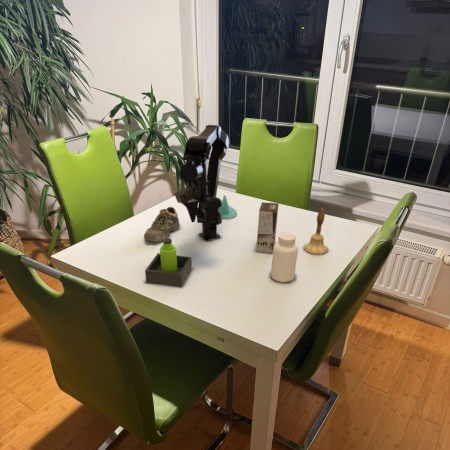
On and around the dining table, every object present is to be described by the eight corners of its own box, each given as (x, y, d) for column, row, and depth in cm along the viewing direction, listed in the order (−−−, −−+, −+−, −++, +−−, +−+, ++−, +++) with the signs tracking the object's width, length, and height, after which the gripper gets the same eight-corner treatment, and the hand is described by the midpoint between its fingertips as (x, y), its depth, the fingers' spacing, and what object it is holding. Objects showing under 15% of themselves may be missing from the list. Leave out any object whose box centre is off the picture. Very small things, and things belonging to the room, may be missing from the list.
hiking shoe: (134, 236, 157) (146, 212, 150) (161, 222, 174) (174, 199, 167) (152, 252, 157) (166, 228, 150) (178, 235, 174) (191, 214, 167)
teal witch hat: (220, 201, 196) (220, 183, 191) (242, 216, 181) (243, 197, 176) (197, 205, 191) (197, 187, 186) (217, 221, 176) (218, 201, 171)
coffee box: (272, 253, 152) (276, 212, 143) (255, 251, 153) (258, 210, 144) (275, 242, 160) (279, 202, 151) (259, 241, 161) (261, 201, 152)
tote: (158, 264, 144) (157, 253, 141) (191, 268, 142) (191, 257, 140) (146, 282, 134) (144, 270, 132) (181, 286, 132) (181, 274, 130)
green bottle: (159, 272, 139) (156, 238, 132) (173, 268, 141) (171, 235, 134) (165, 279, 135) (162, 245, 128) (179, 275, 137) (178, 241, 130)
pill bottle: (288, 285, 134) (293, 243, 126) (266, 278, 137) (270, 237, 129) (298, 274, 140) (303, 234, 131) (276, 268, 143) (280, 228, 135)
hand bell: (306, 242, 160) (312, 203, 151) (328, 246, 158) (335, 206, 149) (302, 252, 154) (308, 211, 145) (325, 255, 151) (332, 215, 142)
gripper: (163, 177, 139) (166, 223, 145) (192, 184, 125) (194, 234, 132) (191, 174, 145) (193, 218, 151) (222, 180, 131) (223, 228, 137)
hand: (200, 224), depth 143 cm, fingers open, 9 cm apart
